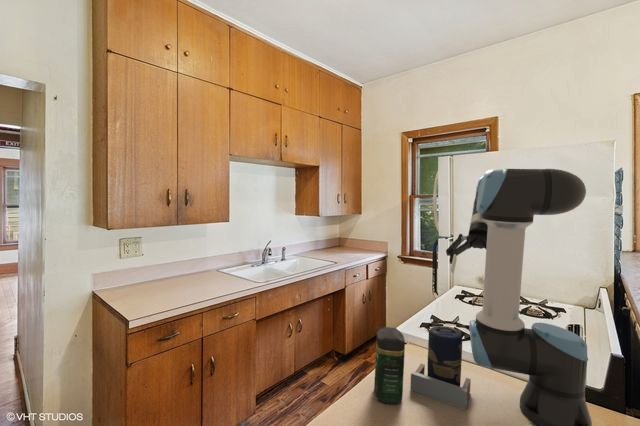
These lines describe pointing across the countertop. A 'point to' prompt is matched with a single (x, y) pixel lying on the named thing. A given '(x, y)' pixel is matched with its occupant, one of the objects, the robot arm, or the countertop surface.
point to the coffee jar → (389, 365)
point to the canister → (445, 354)
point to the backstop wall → (439, 390)
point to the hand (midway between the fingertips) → (473, 274)
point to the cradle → (466, 386)
